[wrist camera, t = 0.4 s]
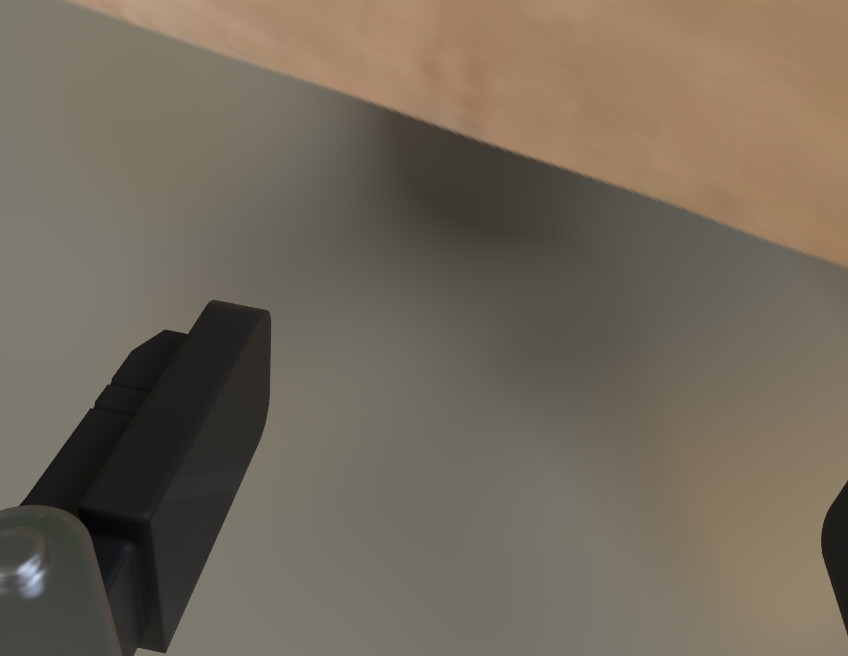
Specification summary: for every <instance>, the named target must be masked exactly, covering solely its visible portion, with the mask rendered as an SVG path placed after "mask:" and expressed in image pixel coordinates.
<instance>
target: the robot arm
mask: <svg viewBox="0 0 848 656" xmlns="http://www.w3.org/2000/svg"><path fill="white" fill-rule="evenodd" d="M270 350H271V317H270V313H269V311H268V310H264V309H258V308H253V307H248V306H243V305H238V304H233V303H228V302H223V301H217V300H212V301H210V302H209V303H208V304H207V306H206V307H205V309H204V310H203V312H202V313H201V315H200V317H199V318H198V320H197V321H196V323H195V324H194V326H193V327H192V329H191V330H190V332H189V333H188V334H185V333H180V332H175V331H170V330H163V331H162V332H160V333H159V334H157V335H156V336H154V337H153V338H151V339H149V340H148V341H146V342H145V343H143V344H142V345H140V346H139V347H137V348H135V349H134V350H132V351H131V353H130V354H129V356H128V357H127V359H126V360H125V361H124V362H123V364H122V365H121V367H120V368H119V369H118V371H117V372H116V374H115V375H114V376H113V378H112V382H111V384H110V385H107V386H106V388H105V389H104V391H103V392H102V393H101V394H100V396H99V397H98V399H97V400H96V401H95V406H94V408H93V409H92V408H91V409H90V410H89V411H88V412H87V414H86V415H85V417H84V418H83V419H82V421H81V422H80V424H79V425H78V426H77V428H76V429H75V431H74V432H73V433H72V435H71V436H70V438H69V439H68V440H67V442H66V443H65V444H64V446H63V447H62V449H61V450H60V451H59V453H58V454H57V456H56V457H55V458H54V460H53V461H52V462H51V464H50V465H49V467H48V468H47V469H46V471H45V472H44V474H43V475H42V476H41V478H40V479H39V480H38V482H37V483H36V485H35V486H34V487H33V489H32V490H31V491H30V493H29V494H28V496H27V497H26V498H25V500H24V501H23V502H22V503H21V504H20V505H19V506H17V507H12V508H7V509H4V510H1V511H0V656H133V655H134V654H135V652H136V649H137V647H138V648H143V649H147V650H152V651H157V652H162V653H166V651H167V649H168V647H169V644H170V642H171V640H172V638H173V635H174V633H175V631H176V629H177V626H178V624H179V622H180V619H181V617H182V615H183V613H184V611H185V608H186V606H187V604H188V601H189V599H190V597H191V595H192V593H193V590H194V588H195V586H196V584H197V581H198V579H199V577H200V574H201V572H202V570H203V568H204V566H205V563H206V561H207V559H208V556H209V554H210V552H211V550H212V547H213V545H214V543H215V541H216V538H217V536H218V534H219V532H220V529H221V527H222V525H223V523H224V520H225V518H226V516H227V514H228V511H229V509H230V507H231V505H232V502H233V500H234V498H235V495H236V493H237V490H238V489H239V486H240V484H241V482H242V480H243V477H244V475H245V473H246V471H247V468H248V466H249V464H250V462H251V459H252V457H253V455H254V453H255V450H256V448H257V446H258V443H259V441H260V438H261V436H262V433H263V430H264V426H265V422H266V418H267V412H268V407H269V398H270V355H271V351H270ZM821 536H822V537H821V547H822V554H823V558H824V561H825V565H826V568H827V571H828V574H829V577H830V580H831V584H832V587H833V590H834V593H835V596H836V600H837V602H838V606H839V609H840V612H841V615H842V619H843V622H844V625H845V628H846V631H847V634H848V481H847V483H846V484H845V486H844V487H843V489H842V490H841V492H840V493H839V495H838V496H837V498H836V499H835V501H834V502H833V504H832V505H831V507H830V509H829V510H828V512H827V514H826V517H825V520H824V523H823V528H822V535H821Z"/></svg>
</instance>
